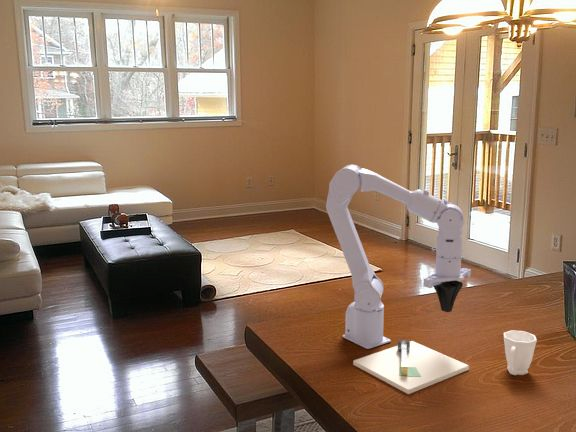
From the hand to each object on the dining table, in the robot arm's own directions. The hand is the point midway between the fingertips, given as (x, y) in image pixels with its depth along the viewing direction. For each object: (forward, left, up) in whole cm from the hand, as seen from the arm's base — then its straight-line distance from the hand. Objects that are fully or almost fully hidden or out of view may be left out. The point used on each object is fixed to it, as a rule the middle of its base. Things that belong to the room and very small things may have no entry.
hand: (446, 310), depth 139 cm
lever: (+1, -15, -8) cm, 17 cm away
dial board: (+3, -15, -9) cm, 17 cm away
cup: (+18, +2, -10) cm, 20 cm away
